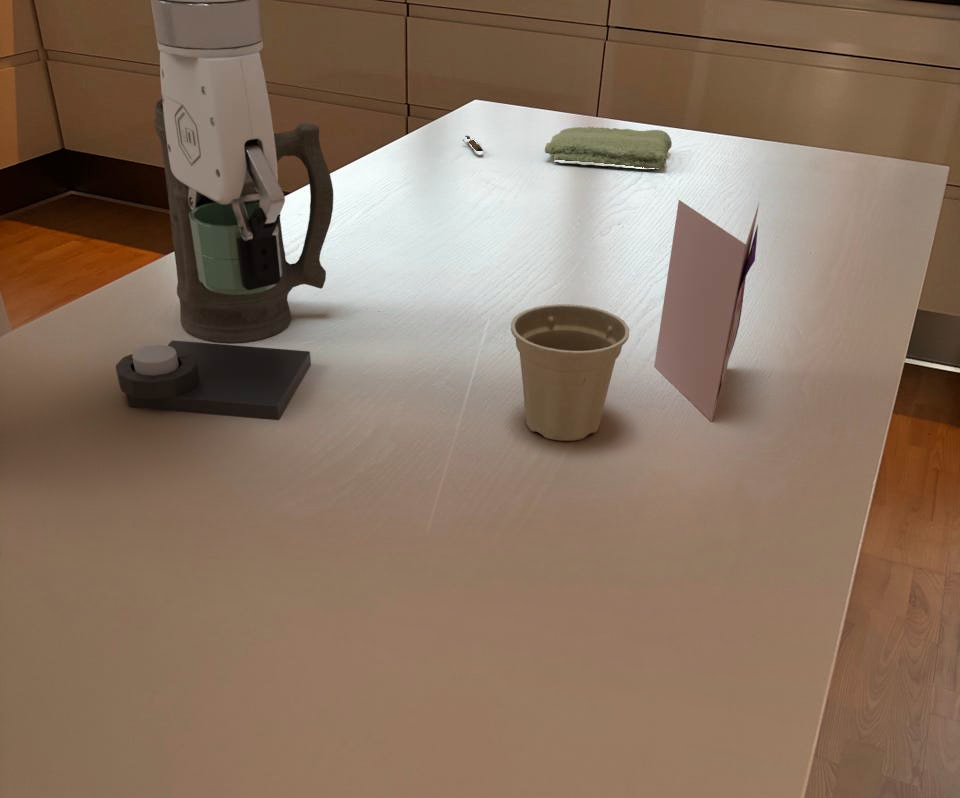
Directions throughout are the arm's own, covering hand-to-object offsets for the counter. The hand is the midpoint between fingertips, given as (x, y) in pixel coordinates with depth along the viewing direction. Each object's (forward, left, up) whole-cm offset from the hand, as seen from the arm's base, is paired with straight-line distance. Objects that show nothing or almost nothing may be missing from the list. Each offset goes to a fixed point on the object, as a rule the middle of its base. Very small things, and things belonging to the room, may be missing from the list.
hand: (239, 269), depth 85 cm
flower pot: (+28, -4, -10) cm, 30 cm away
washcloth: (+30, +81, -10) cm, 87 cm away
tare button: (-7, -5, -7) cm, 11 cm away
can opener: (+10, +81, -10) cm, 83 cm away
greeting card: (+39, +5, -10) cm, 41 cm away
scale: (-2, -2, -10) cm, 10 cm away
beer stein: (-3, +13, -10) cm, 17 cm away
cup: (0, 0, -1) cm, 1 cm away
